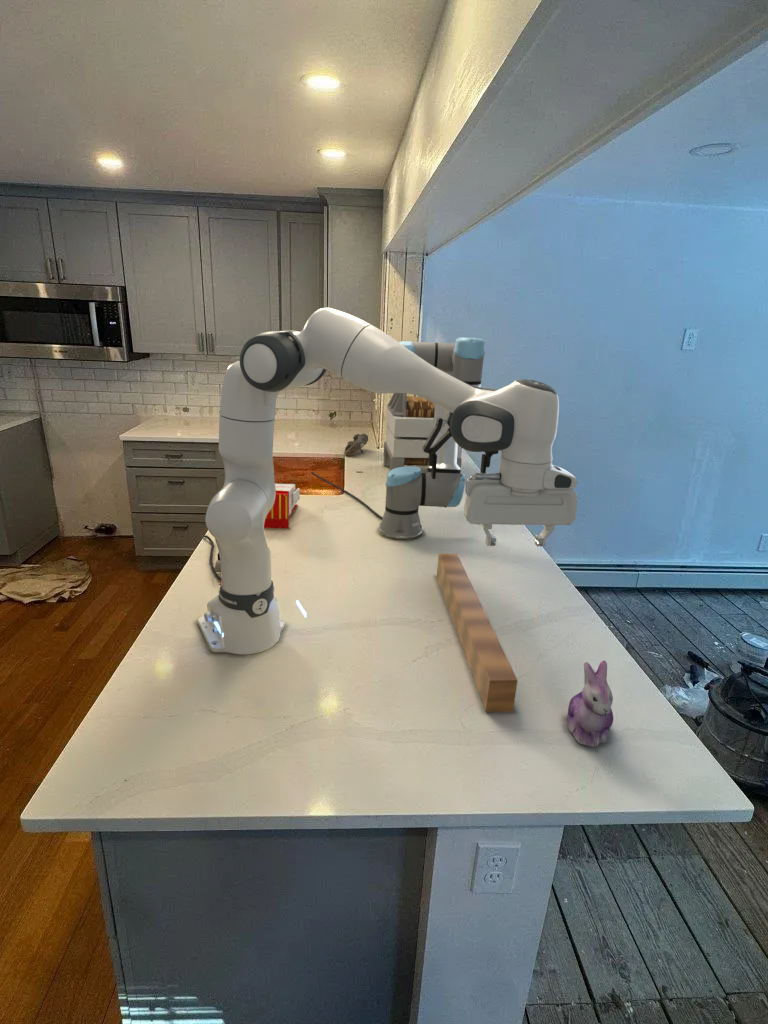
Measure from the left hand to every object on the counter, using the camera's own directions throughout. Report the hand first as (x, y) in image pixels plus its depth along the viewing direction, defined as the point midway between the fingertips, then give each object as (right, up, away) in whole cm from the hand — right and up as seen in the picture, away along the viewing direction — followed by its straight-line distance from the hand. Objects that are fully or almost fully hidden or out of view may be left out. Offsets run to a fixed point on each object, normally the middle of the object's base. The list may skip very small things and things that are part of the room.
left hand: (515, 545), depth 106 cm
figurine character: (-69, -11, +62) cm, 94 cm away
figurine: (+15, -36, +3) cm, 39 cm away
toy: (-63, +5, +106) cm, 124 cm away
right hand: (-4, +15, +49) cm, 52 cm away
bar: (-4, -23, +36) cm, 43 cm away
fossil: (-40, +38, +202) cm, 210 cm away
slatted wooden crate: (-7, +25, +169) cm, 171 cm away
